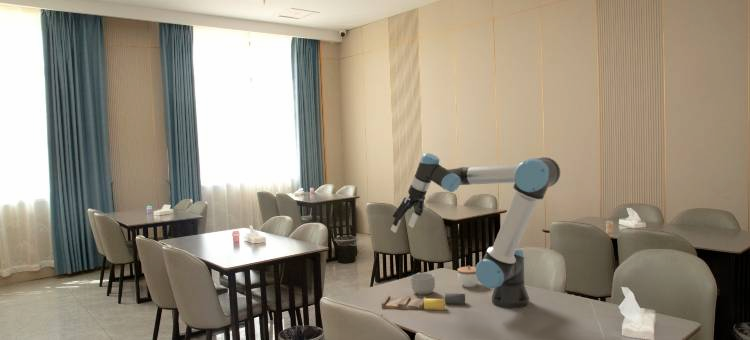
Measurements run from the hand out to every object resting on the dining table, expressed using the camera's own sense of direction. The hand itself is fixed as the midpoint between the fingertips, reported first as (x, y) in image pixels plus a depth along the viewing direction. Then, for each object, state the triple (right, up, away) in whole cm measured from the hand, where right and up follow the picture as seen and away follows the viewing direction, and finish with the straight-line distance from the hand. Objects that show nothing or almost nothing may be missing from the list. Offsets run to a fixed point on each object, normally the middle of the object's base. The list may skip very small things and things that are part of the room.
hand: (402, 228), depth 236 cm
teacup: (+10, -30, +5) cm, 32 cm away
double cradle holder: (0, -31, -13) cm, 33 cm away
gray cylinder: (+22, -28, -14) cm, 38 cm away
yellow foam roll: (+12, -29, -20) cm, 37 cm away
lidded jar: (+32, -28, +12) cm, 45 cm away
